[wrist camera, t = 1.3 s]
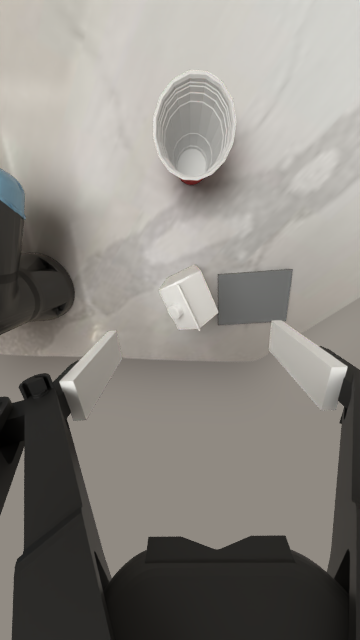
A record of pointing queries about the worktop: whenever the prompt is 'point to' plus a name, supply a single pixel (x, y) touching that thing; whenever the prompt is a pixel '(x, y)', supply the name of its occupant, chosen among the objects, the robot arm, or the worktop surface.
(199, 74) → the plastic cup
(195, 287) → the milk carton
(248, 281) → the gray mat
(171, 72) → the worktop surface
